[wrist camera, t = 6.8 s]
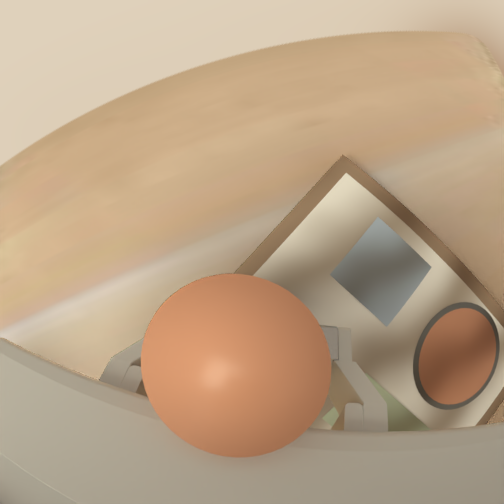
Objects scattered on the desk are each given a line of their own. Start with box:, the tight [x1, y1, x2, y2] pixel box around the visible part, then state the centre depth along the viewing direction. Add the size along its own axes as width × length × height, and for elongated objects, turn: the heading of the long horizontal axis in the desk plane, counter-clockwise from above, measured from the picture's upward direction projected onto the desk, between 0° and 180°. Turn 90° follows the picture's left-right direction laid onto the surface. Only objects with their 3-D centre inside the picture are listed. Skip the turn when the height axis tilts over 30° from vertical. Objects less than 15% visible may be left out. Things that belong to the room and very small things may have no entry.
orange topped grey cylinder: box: [141, 274, 331, 457], centre depth 13 cm, size 4×4×13 cm
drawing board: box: [234, 155, 504, 432], centre depth 18 cm, size 22×16×1 cm
